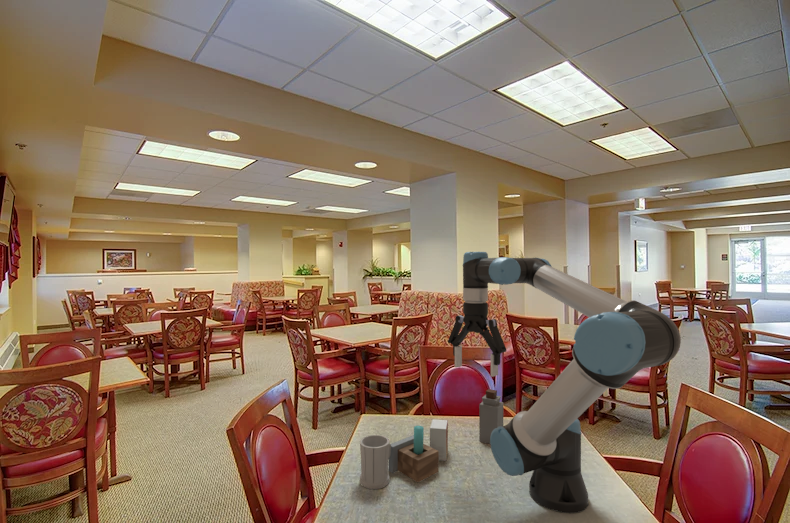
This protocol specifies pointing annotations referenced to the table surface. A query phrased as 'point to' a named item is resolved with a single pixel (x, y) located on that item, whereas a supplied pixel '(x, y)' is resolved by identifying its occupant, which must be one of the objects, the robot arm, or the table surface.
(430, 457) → the block
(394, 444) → the wall
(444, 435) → the small box
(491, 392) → the perfume bottle
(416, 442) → the dowel
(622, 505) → the table surface
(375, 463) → the cup
